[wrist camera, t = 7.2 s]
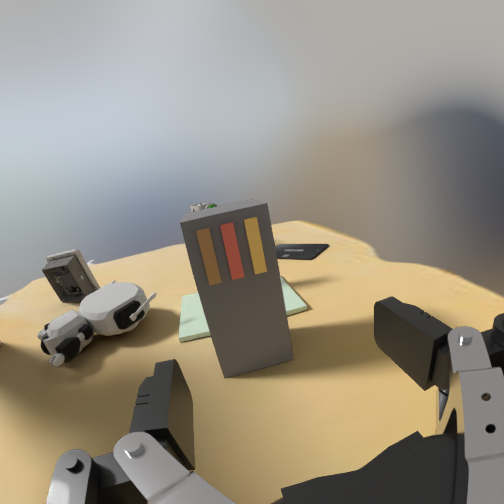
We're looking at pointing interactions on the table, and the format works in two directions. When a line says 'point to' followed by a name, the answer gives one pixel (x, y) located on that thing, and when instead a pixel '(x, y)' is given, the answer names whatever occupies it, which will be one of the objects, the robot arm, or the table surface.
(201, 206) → the mechanical component
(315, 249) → the solid state drive
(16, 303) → the table surface
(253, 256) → the plug block
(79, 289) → the electrical switch
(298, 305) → the board
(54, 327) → the robot toy
